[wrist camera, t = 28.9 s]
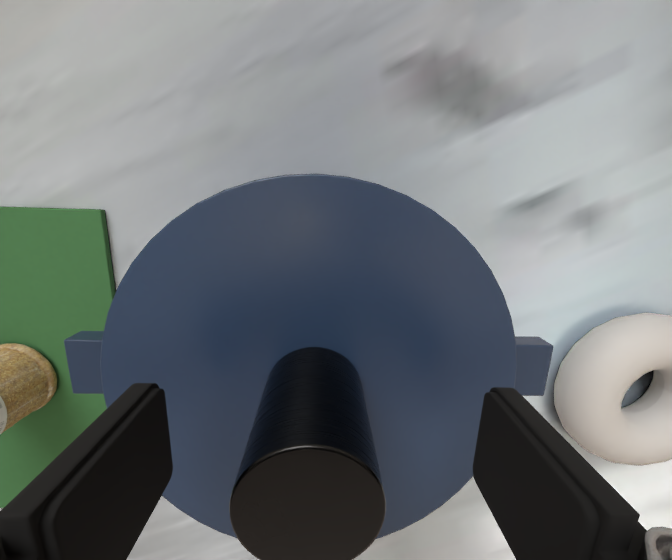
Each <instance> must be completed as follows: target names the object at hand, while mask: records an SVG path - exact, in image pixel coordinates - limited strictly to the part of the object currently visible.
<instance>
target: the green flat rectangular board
mask: <svg viewBox="0 0 672 560" xmlns="http://www.w3.org/2000/svg"><path fill="white" fill-rule="evenodd" d="M115 293H116V292H115V284H114V277H113V269H112V262H111V254H110V247H109V239H108V232H107V224H106V217H105V210H94V209H61V208H27V207H0V345H2V344H12V343H16V344H23V345H26V346H28V347H31V348H33V349H35V350H36V351H38V352H39V353H40V354H41V355H42V356H44V357H45V358H46V359H47V360H48V361H49V362H50V363H51V365H52V367H53V368H54V371H55V373H56V376H57V389H56V391H55V393H54V395H53V397H52V398H51V400H50V401H49V402H48V403H47V404H46V405H44V406H43V407H41V408H40V409H38V410H36V411H33V412H31V413H30V414H29V415H27V416H26V417H24V418H22V419H21V420H19V421H18V422H17V423H15V424H14V425H13V426H12V427H10V428H9V429H7V430H6V431H4V432H3V433H2V434H1V435H0V508H4V507H5V506H6V505H7V504H8V503H9V502H10V501H12V500H13V499H14V498H15V497H16V496H17V495H18V494H19V493H20V492H21V491H22V490H23V489H24V488H25V487H26V486H27V485H28V484H29V483H30V482H31V481H32V480H33V479H34V478H35V477H36V476H37V475H39V474H40V473H41V472H42V471H43V470H44V469H45V468H46V467H47V466H48V465H49V464H50V463H51V462H52V461H53V460H54V459H55V458H56V457H57V456H58V455H59V454H60V453H61V452H62V451H63V450H64V449H66V448H67V447H68V446H69V445H70V444H71V443H72V442H73V441H74V440H75V439H76V438H77V437H78V436H79V435H80V434H81V433H82V432H83V431H84V430H85V429H86V428H87V427H88V426H89V425H90V424H92V423H93V422H94V421H95V420H96V419H97V418H98V417H99V416H100V415H101V414H102V413H103V412H104V411H105V410H106V409H107V407H106V403H105V398H104V394H74V393H73V391H72V385H71V379H70V374H69V368H68V362H67V357H66V351H65V346H64V340H65V339H67V338H69V337H71V336H72V335H74V334H76V333H78V332H80V331H104V327H105V323H106V319H107V314H108V311H109V308H110V306H111V303H112V301H113V298H114V296H115Z"/></svg>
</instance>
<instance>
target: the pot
mask: <svg viewBox="0 0 672 560" xmlns="http://www.w3.org/2000/svg"><path fill="white" fill-rule="evenodd" d="M103 332H104V331H80V332H78V333H76V334H74V335H72V336H71V337H69V338H67V339H65V340H64V346H65V351H66V357H67V362H68V368H69V374H70V379H71V385H72V391H73V393H74V394H103V390H102V379H101V367H100V361H101V346H102V336H103ZM515 341H516V361H517V369H516V378H515V388H514V389H516V390H517V391H518V392H519V393H520V394H521V395H522V396H543V395H544V391H545V386H546V381H547V376H548V371H549V366H550V361H551V356H552V351H553V345H551V344H549V343H548V342H546V341H545V340H543V339H541V338H540V337H515Z"/></svg>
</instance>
